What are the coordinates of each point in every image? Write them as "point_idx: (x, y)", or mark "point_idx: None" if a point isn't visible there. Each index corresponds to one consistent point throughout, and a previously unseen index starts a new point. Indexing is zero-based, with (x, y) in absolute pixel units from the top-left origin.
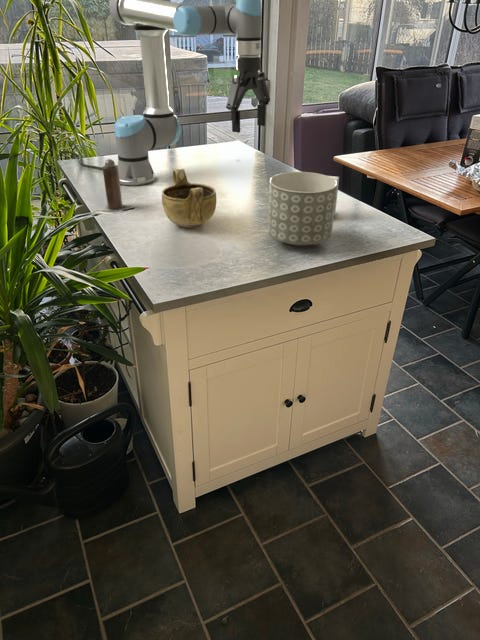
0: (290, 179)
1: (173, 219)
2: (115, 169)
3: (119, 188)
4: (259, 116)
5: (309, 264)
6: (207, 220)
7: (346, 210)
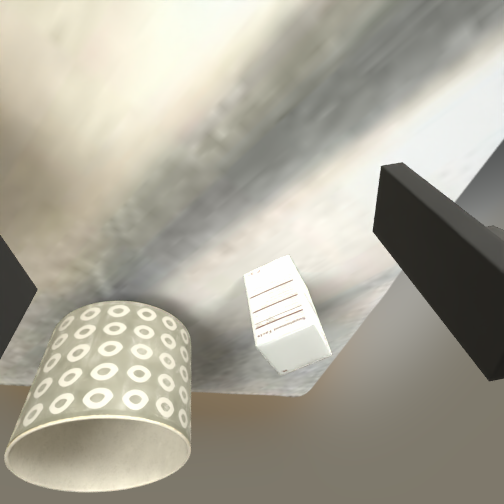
0: (129, 399)
1: None
2: None
3: None
4: (422, 233)
5: None
6: None
7: (338, 285)
